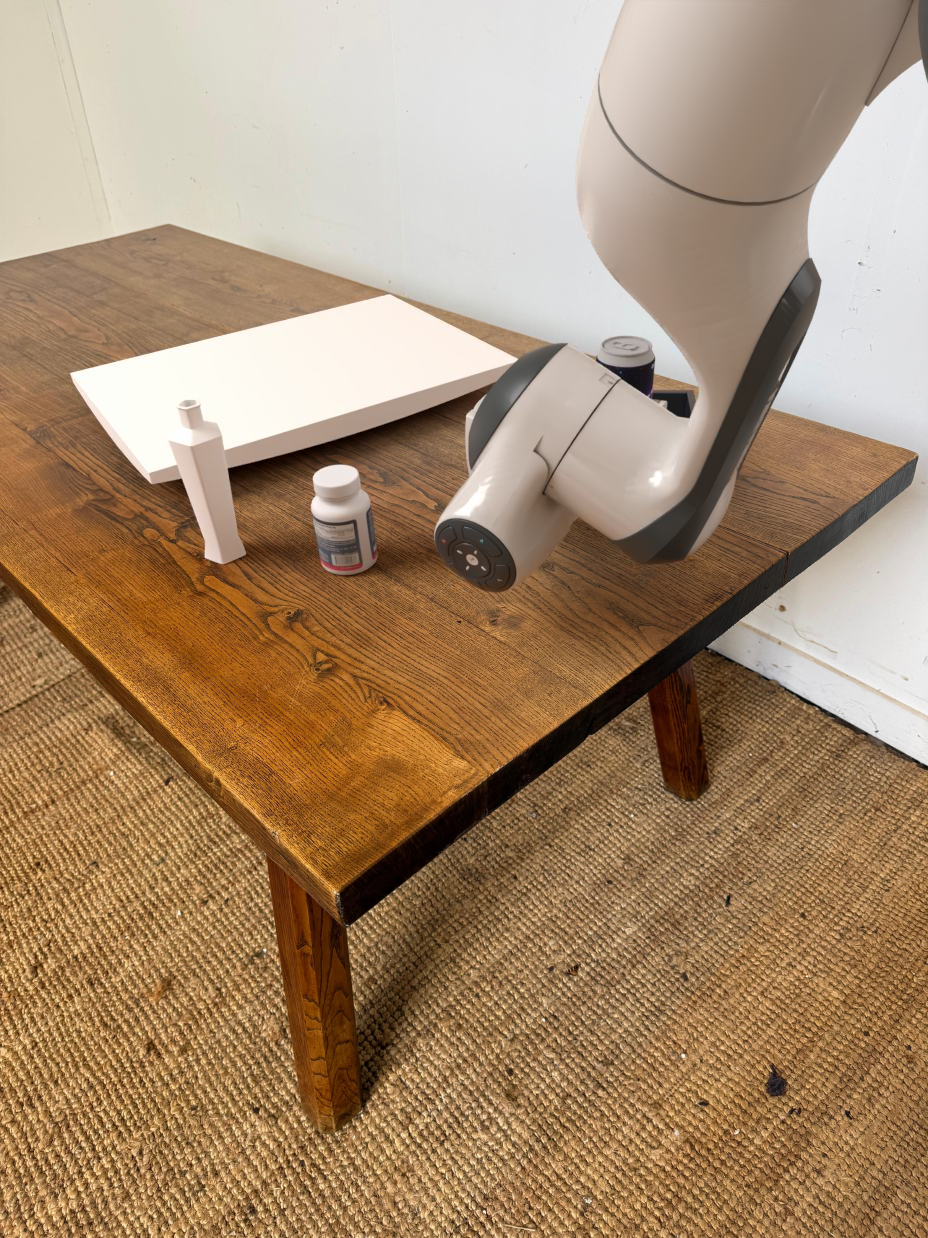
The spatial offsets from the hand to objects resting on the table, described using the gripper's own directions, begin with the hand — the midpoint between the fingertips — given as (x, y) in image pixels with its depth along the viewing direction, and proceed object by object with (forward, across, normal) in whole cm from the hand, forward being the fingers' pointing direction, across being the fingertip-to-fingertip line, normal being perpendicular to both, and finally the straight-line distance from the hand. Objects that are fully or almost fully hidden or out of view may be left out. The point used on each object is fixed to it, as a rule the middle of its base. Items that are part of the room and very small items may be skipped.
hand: (611, 399), depth 84 cm
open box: (+4, 0, +9) cm, 10 cm away
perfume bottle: (-26, +28, +9) cm, 39 cm away
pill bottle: (-22, +17, +9) cm, 29 cm away
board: (+4, +42, +9) cm, 43 cm away
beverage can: (+4, 0, +8) cm, 9 cm away
